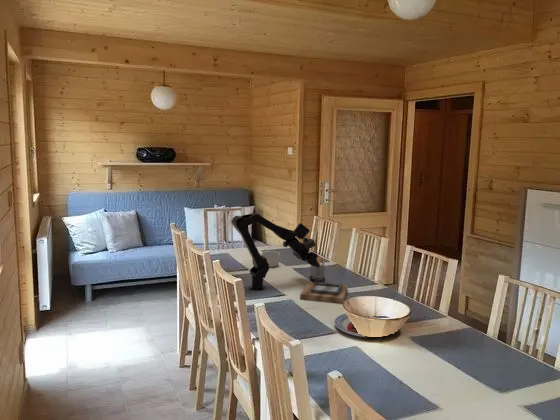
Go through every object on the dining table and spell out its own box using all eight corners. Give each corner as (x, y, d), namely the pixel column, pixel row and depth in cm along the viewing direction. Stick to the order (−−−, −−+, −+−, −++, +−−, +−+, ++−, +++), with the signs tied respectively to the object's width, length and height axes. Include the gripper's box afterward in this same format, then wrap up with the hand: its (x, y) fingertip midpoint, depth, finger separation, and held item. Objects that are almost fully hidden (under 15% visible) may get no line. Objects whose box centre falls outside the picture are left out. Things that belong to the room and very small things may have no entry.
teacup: (280, 264, 286) (280, 251, 285) (278, 269, 276) (278, 255, 274) (257, 263, 288) (257, 250, 286) (254, 267, 277) (255, 254, 276)
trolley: (314, 283, 249) (315, 260, 247) (309, 280, 255) (310, 257, 253) (325, 282, 252) (325, 259, 250) (319, 279, 257) (320, 256, 255)
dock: (300, 299, 224) (300, 291, 224) (308, 286, 243) (308, 279, 243) (342, 303, 219) (342, 295, 219) (347, 290, 238) (347, 282, 238)
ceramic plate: (400, 345, 176) (401, 337, 176) (331, 338, 181) (331, 331, 181) (398, 319, 201) (398, 313, 201) (336, 314, 206) (337, 307, 206)
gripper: (314, 237, 238) (333, 257, 244) (298, 231, 255) (316, 249, 261) (300, 254, 236) (319, 273, 242) (285, 246, 253) (303, 264, 259)
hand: (314, 264), depth 251 cm, fingers open, 9 cm apart
